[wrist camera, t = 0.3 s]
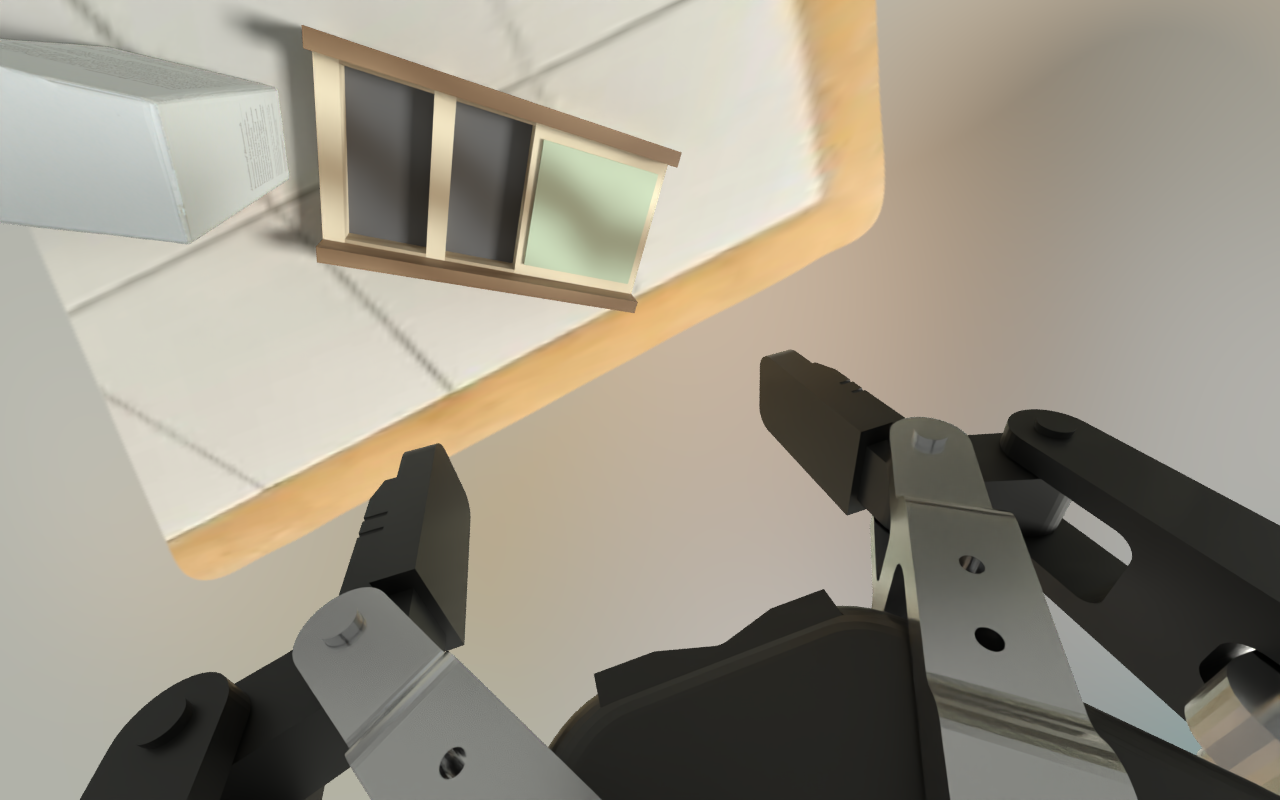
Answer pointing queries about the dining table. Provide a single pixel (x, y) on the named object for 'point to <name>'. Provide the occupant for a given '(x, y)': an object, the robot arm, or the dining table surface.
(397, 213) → the board
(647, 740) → the robot arm
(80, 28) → the dining table surface
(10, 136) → the skincare box
